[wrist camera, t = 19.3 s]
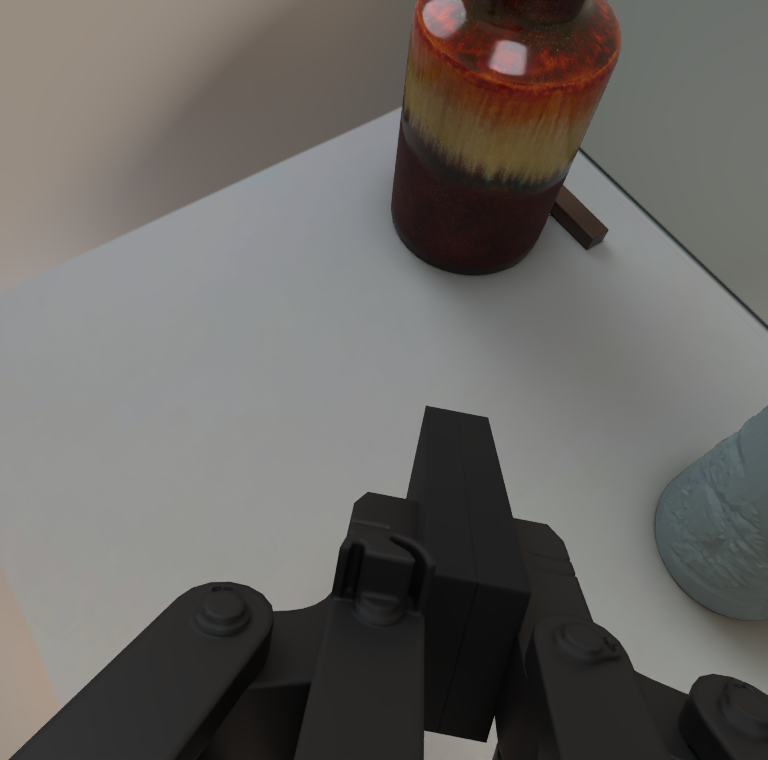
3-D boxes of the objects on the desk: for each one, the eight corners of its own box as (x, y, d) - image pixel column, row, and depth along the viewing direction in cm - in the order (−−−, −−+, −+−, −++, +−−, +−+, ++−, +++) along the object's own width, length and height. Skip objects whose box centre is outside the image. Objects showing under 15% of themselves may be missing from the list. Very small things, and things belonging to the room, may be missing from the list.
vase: (459, 137, 48) (535, -203, 30) (570, 218, 45) (730, -102, 27) (359, 209, 44) (375, -130, 26) (473, 303, 41) (582, -4, 23)
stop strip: (602, 240, 44) (609, 229, 43) (586, 250, 44) (593, 239, 43) (480, 119, 49) (484, 107, 48) (464, 127, 48) (468, 114, 47)
